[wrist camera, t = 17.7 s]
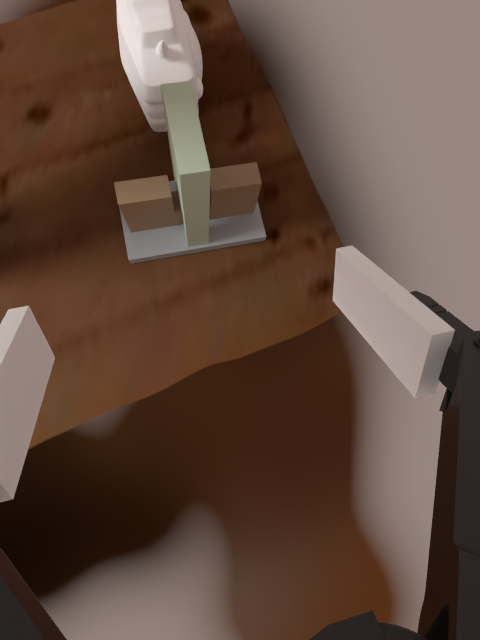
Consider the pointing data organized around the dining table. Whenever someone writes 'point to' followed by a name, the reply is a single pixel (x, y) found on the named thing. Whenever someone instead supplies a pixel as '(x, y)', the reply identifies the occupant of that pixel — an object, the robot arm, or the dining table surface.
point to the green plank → (188, 160)
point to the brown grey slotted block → (167, 220)
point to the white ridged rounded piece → (158, 52)
